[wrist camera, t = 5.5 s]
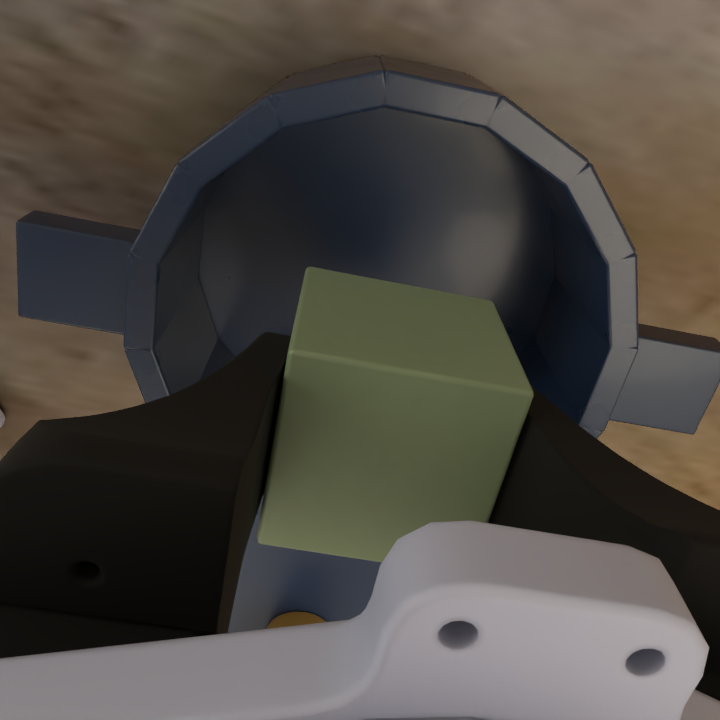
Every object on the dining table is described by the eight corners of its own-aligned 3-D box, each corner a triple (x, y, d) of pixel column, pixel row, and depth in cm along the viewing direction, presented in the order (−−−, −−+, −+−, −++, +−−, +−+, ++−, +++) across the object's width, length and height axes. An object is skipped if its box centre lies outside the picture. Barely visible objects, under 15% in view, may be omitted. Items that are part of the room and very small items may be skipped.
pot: (582, 472, 24) (636, 587, 19) (84, 389, 23) (9, 491, 18) (726, 128, 19) (849, 168, 14) (92, -9, 18) (-10, -16, 13)
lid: (419, 733, 31) (428, 837, 27) (133, 696, 30) (98, 799, 26) (500, 513, 25) (525, 604, 21) (150, 457, 24) (110, 542, 20)
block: (446, 454, 16) (470, 578, 13) (278, 426, 16) (254, 545, 12) (493, 299, 15) (536, 393, 11) (306, 264, 14) (287, 348, 11)
